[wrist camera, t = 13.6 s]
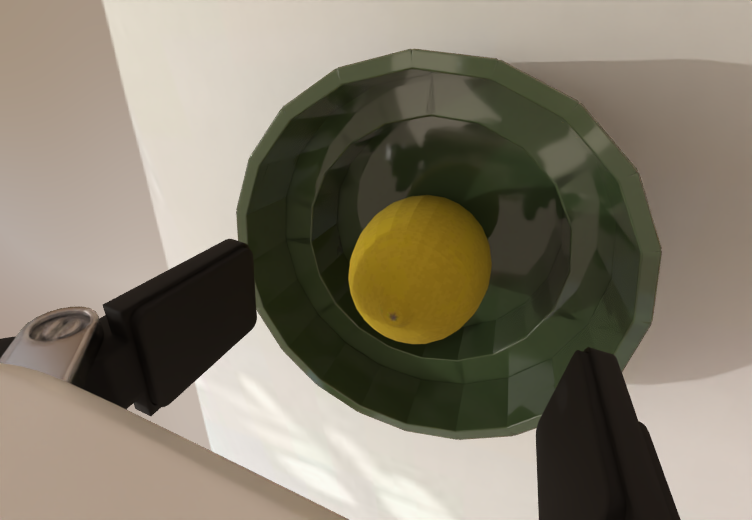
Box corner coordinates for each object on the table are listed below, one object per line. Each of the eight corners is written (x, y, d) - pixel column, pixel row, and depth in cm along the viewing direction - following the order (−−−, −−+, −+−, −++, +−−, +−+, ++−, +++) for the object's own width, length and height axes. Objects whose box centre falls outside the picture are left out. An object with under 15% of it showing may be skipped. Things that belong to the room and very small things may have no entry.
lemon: (474, 294, 19) (451, 410, 12) (378, 260, 20) (306, 348, 13) (514, 196, 16) (512, 272, 9) (399, 164, 17) (324, 211, 10)
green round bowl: (677, 92, 13) (794, 93, 8) (541, 380, 20) (551, 489, 15) (318, 47, 17) (223, 25, 11) (308, 304, 24) (246, 368, 18)
